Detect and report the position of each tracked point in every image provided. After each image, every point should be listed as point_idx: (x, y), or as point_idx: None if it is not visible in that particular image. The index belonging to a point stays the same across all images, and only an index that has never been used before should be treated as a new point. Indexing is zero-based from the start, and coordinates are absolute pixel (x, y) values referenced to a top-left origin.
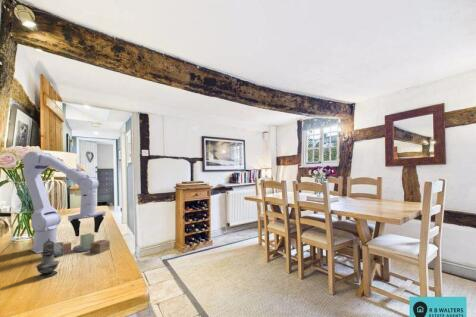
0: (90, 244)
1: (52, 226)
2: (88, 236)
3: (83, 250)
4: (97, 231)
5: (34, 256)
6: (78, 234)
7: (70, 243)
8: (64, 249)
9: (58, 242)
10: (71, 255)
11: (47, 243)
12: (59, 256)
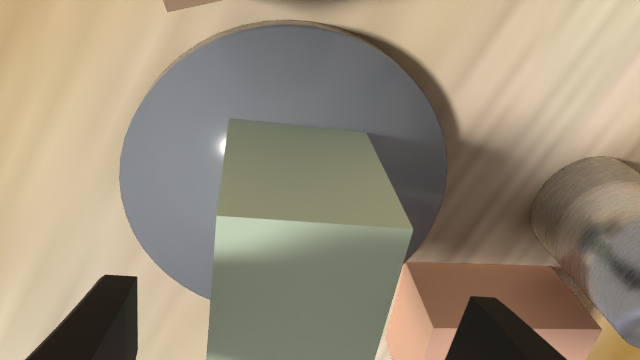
0: (281, 136)
1: None
2: (334, 216)
3: (405, 72)
4: (106, 287)
5: (620, 345)
6: (505, 315)
7: (439, 322)
8: (478, 281)
9: (636, 334)
10: (539, 72)
11: None
12: (597, 158)
